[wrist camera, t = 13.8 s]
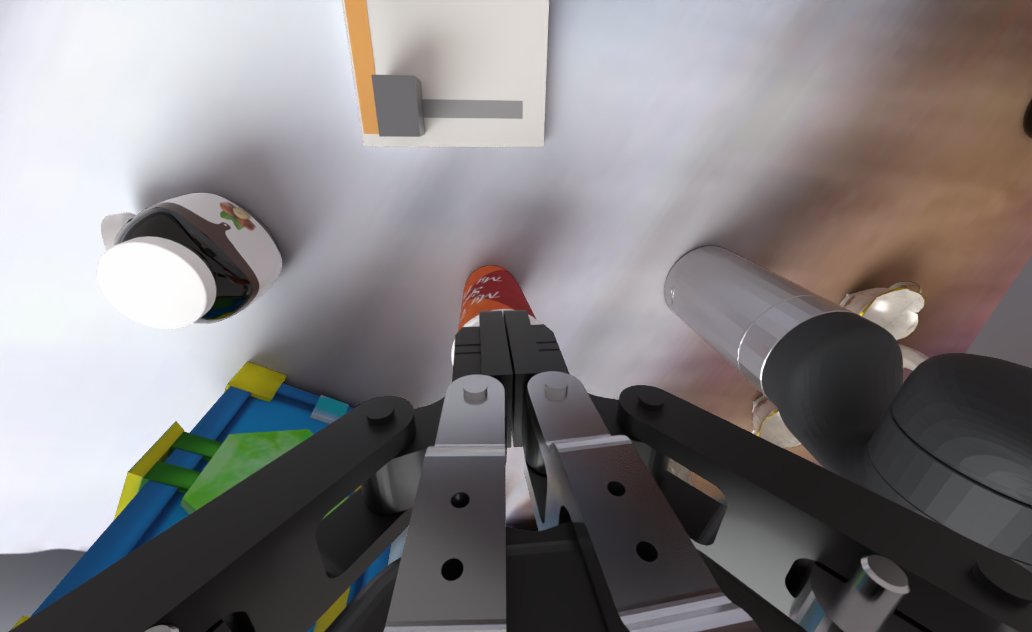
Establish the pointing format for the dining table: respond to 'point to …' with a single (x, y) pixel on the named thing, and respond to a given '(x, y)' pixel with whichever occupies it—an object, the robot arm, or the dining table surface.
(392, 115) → the block
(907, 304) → the chinaware
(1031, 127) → the supplement bottle
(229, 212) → the spread jar
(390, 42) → the panel
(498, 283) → the coffee cup
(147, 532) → the blue yellow rectangular box
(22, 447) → the dining table surface
